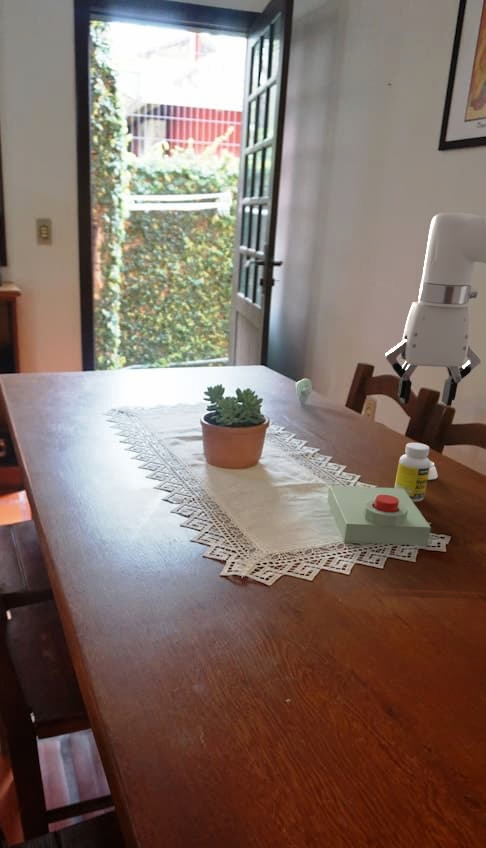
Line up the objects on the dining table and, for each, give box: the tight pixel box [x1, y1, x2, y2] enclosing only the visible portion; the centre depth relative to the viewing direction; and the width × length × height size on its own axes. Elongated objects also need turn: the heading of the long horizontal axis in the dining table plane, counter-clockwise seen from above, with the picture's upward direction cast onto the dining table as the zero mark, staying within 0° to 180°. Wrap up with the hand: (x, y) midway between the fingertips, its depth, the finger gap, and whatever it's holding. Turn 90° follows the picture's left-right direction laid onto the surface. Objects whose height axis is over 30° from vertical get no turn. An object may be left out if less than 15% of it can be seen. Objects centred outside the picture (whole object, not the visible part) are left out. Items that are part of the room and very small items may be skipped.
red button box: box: [327, 484, 432, 546], centre depth 112 cm, size 13×16×5 cm
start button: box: [374, 495, 399, 513], centre depth 106 cm, size 4×4×2 cm
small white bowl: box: [427, 460, 439, 481], centre depth 134 cm, size 5×3×5 cm
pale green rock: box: [294, 378, 314, 404], centre depth 182 cm, size 8×4×7 cm, turn 14°
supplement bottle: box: [393, 442, 431, 503], centre depth 122 cm, size 5×5×10 cm
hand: (425, 402), depth 117 cm, fingers open, 6 cm apart
